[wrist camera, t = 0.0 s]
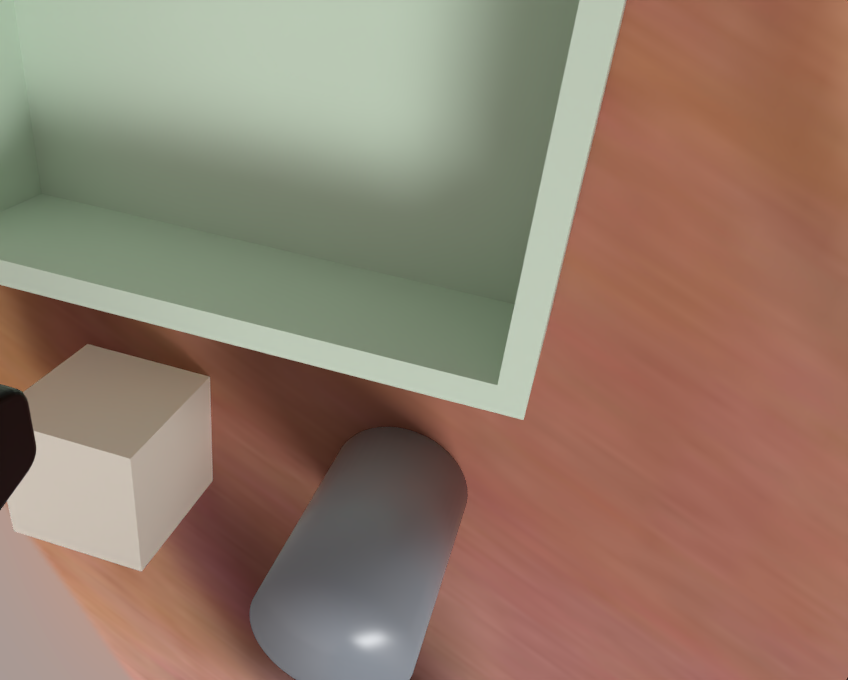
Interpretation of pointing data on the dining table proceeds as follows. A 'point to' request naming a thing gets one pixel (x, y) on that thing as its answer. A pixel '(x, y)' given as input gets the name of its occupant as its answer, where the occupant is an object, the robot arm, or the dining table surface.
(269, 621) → the grey canister
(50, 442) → the cream block
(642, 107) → the dining table surface
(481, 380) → the tote
